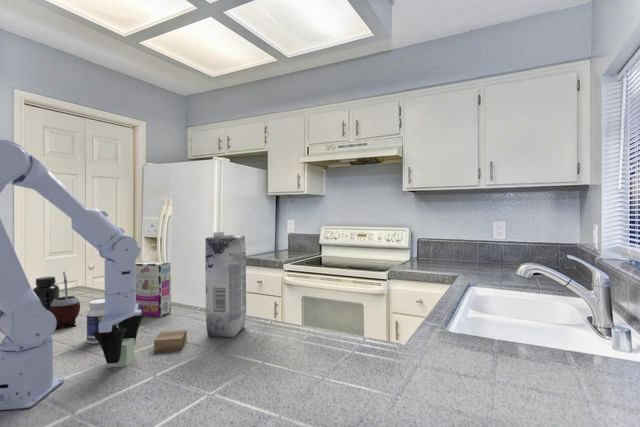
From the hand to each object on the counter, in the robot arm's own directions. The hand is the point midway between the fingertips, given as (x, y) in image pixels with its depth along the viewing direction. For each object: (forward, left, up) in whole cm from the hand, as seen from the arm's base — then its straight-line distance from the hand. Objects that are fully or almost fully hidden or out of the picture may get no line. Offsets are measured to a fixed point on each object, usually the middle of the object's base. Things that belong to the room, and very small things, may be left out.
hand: (121, 354), depth 73 cm
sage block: (0, 0, -2) cm, 2 cm away
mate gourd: (+29, +27, -2) cm, 40 cm away
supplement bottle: (+41, +39, -2) cm, 57 cm away
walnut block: (+8, -8, -2) cm, 11 cm away
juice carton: (+16, -20, -2) cm, 26 cm away
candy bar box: (+37, +6, -2) cm, 38 cm away
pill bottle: (+15, +11, -2) cm, 19 cm away
